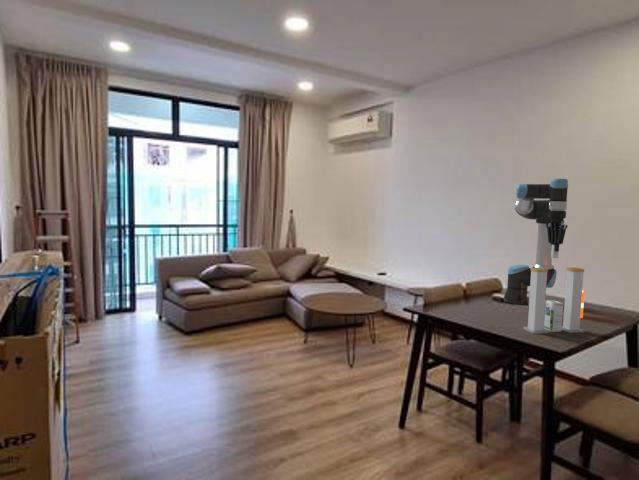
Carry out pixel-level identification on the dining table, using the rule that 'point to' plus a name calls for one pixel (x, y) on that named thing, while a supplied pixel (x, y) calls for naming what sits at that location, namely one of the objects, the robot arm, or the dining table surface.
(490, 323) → the dining table surface
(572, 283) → the post
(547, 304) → the syrup box
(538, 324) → the post
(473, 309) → the dining table surface
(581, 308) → the orange juice
